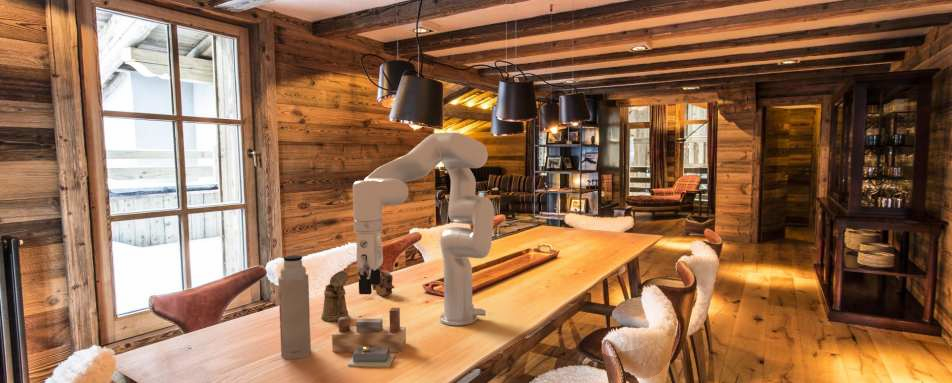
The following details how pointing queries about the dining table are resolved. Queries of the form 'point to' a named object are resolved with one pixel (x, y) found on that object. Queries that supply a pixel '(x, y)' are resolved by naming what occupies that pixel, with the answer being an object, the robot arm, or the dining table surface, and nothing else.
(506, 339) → the dining table surface
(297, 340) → the thermos bottle
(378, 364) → the felt mat
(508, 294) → the dining table surface
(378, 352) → the lever cap
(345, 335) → the body
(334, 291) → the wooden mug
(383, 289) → the wooden carving
